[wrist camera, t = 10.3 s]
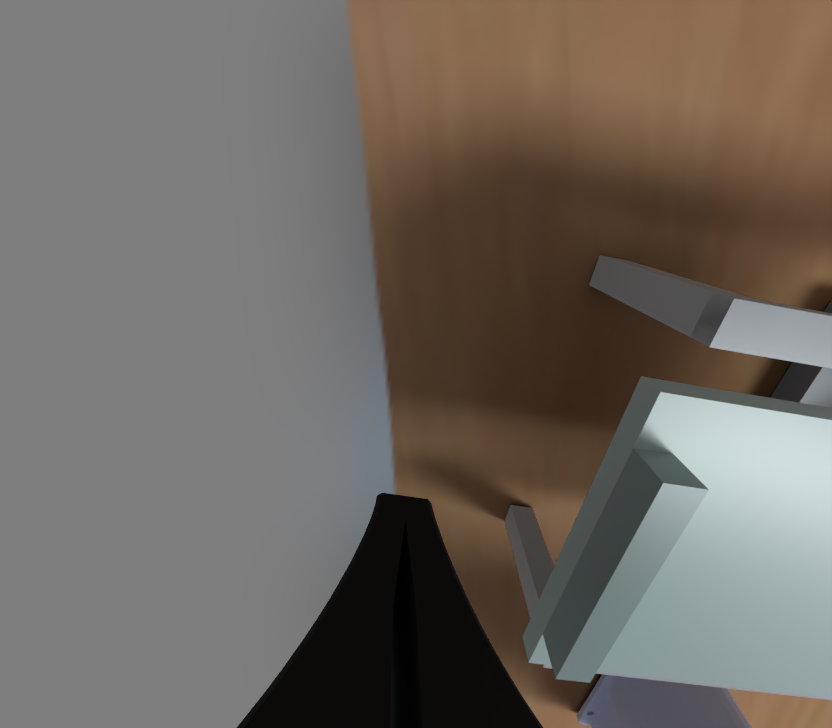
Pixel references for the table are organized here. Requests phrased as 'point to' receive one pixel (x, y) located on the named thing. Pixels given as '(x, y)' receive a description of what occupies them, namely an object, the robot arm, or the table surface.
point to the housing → (714, 327)
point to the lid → (700, 547)
